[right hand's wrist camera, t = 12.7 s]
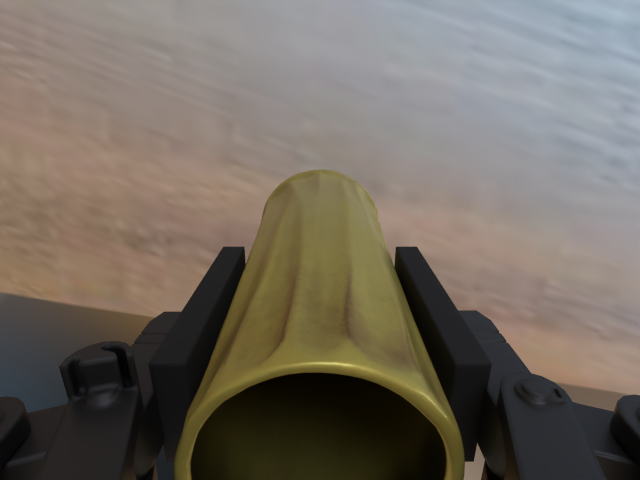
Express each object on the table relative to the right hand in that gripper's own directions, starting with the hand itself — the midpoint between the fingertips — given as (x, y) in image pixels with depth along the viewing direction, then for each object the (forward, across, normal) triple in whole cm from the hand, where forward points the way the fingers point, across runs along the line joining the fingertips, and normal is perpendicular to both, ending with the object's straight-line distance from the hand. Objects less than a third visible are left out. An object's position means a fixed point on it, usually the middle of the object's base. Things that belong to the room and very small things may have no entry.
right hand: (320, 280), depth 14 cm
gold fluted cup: (+6, 0, 0) cm, 6 cm away
